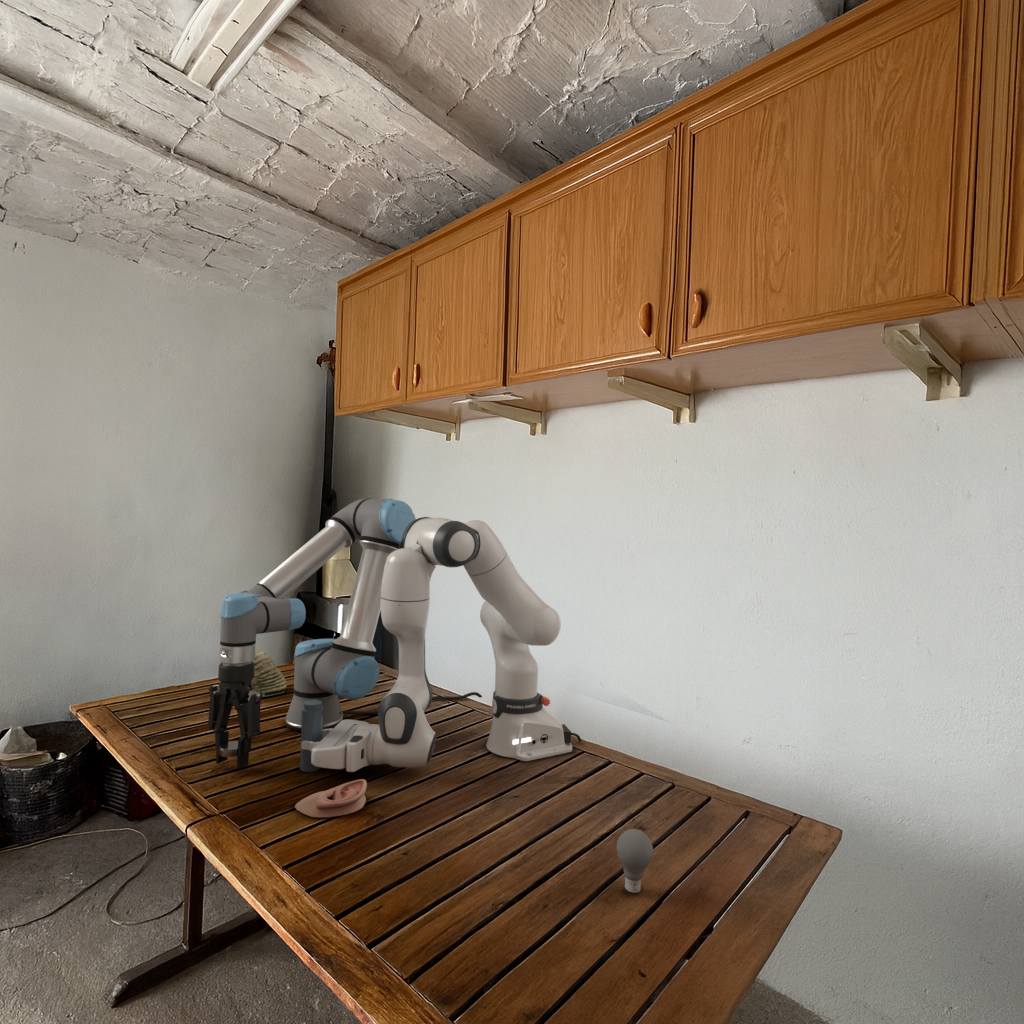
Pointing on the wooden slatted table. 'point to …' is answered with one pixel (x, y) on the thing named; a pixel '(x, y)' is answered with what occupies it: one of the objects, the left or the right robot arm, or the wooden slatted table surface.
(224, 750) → the lid
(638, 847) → the light bulb
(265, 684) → the fossil
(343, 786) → the anatomical model
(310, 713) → the jar
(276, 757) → the wooden slatted table surface
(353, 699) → the left robot arm
